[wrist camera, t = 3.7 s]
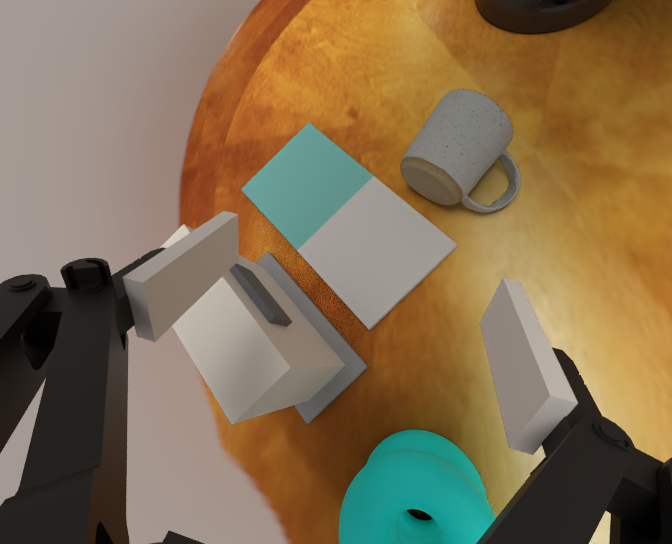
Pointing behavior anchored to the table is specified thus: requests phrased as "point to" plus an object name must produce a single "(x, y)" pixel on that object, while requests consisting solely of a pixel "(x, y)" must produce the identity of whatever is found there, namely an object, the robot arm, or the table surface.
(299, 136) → the mat
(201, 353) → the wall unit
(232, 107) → the table surface
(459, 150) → the ceramic mug
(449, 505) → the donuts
